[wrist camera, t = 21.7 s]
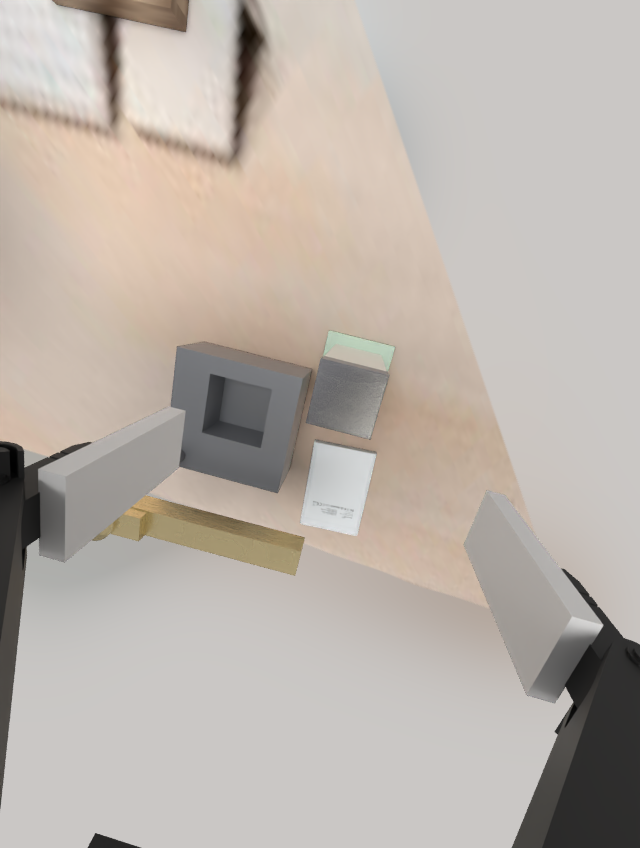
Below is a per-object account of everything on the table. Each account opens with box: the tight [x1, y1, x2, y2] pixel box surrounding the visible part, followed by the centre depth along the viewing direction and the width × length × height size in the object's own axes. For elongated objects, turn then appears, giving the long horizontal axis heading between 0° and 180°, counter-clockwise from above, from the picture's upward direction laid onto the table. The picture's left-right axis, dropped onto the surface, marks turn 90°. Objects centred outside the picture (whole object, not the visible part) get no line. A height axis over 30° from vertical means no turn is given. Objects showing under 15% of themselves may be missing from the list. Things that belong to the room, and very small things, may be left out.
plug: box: [306, 344, 389, 440], centre depth 37 cm, size 6×6×15 cm
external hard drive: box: [300, 439, 377, 536], centre depth 50 cm, size 2×8×12 cm
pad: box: [323, 330, 395, 372], centre depth 45 cm, size 8×8×1 cm
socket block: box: [171, 342, 312, 493], centre depth 38 cm, size 14×14×20 cm
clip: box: [92, 495, 305, 576], centre depth 31 cm, size 19×4×4 cm, turn 78°
